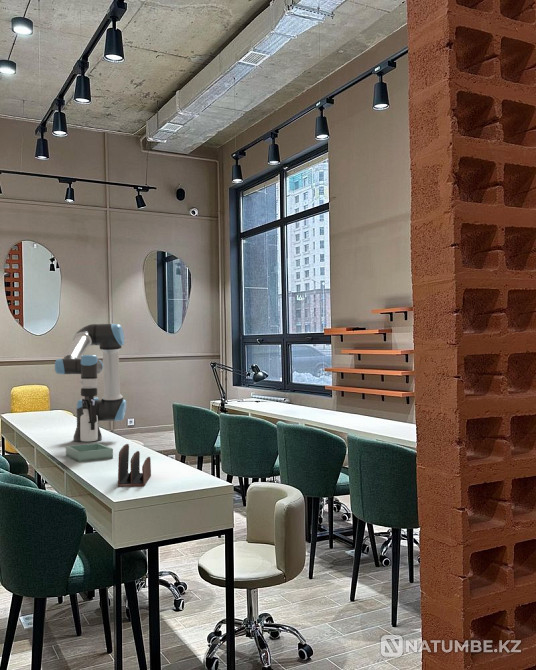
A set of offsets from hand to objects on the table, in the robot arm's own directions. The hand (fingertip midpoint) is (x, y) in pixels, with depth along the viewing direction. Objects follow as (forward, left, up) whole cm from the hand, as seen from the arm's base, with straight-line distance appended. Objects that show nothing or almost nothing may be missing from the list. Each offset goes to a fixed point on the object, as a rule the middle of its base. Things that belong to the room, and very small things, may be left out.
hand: (89, 435), depth 307 cm
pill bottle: (0, 0, -2) cm, 2 cm away
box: (0, 0, -10) cm, 10 cm away
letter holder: (+62, -2, -11) cm, 63 cm away
